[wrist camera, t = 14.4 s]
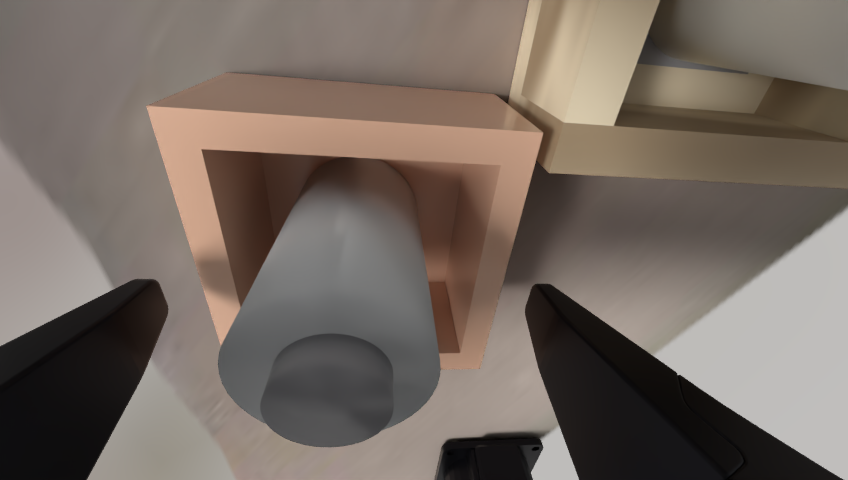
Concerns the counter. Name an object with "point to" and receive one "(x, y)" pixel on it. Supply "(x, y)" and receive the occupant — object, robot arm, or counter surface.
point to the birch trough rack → (666, 106)
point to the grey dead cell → (338, 313)
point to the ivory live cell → (759, 37)
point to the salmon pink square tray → (362, 138)
